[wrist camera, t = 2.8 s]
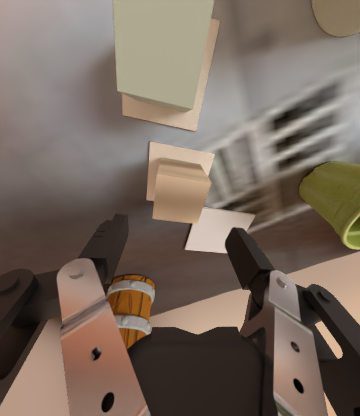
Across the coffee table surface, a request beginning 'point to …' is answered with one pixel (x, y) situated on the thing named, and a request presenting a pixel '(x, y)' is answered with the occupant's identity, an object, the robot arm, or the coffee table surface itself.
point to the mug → (131, 306)
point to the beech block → (180, 191)
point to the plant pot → (336, 198)
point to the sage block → (161, 49)
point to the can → (338, 16)
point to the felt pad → (215, 229)
